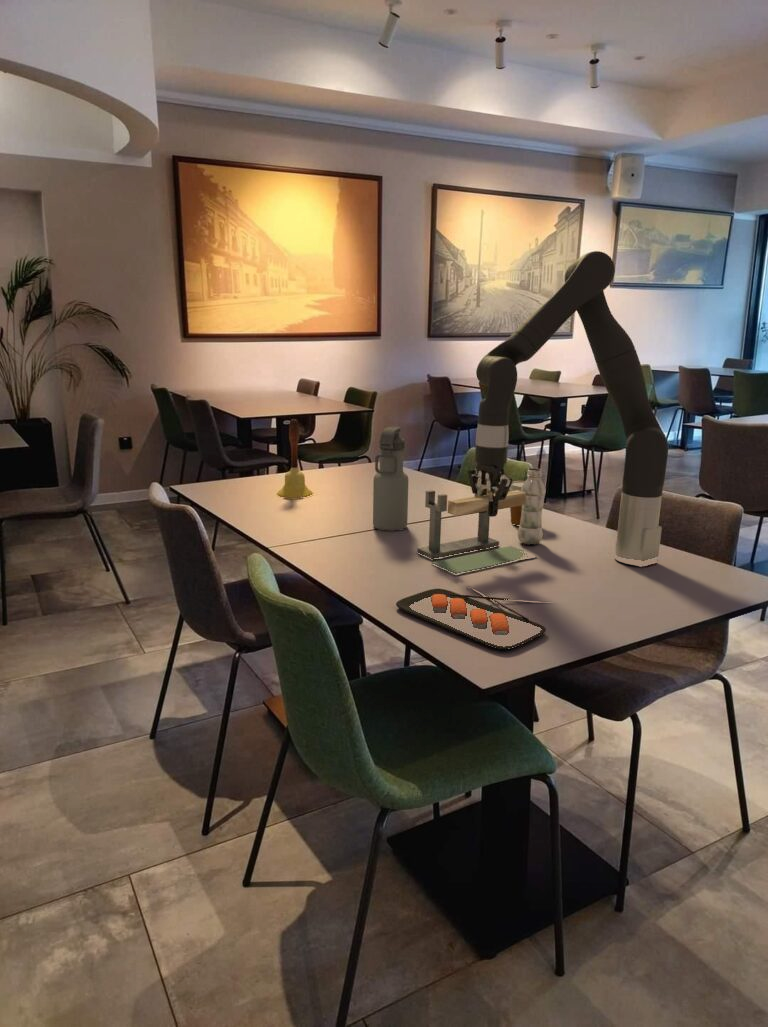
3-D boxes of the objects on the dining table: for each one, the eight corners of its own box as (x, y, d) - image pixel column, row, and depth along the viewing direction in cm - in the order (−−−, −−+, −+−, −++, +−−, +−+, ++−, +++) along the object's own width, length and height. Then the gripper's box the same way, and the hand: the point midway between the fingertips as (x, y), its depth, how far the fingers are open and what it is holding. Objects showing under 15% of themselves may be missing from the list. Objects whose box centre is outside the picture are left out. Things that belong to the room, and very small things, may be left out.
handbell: (279, 489, 247) (278, 416, 240) (315, 490, 246) (315, 417, 240) (273, 498, 235) (271, 421, 228) (310, 499, 234) (310, 422, 228)
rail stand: (499, 546, 187) (502, 486, 183) (431, 560, 175) (434, 496, 171) (483, 541, 192) (486, 482, 188) (417, 554, 180) (419, 491, 176)
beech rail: (525, 504, 177) (526, 492, 177) (455, 515, 166) (456, 503, 165) (516, 502, 180) (517, 490, 179) (447, 512, 168) (448, 500, 167)
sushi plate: (389, 611, 146) (389, 593, 145) (483, 578, 166) (484, 562, 165) (504, 661, 125) (505, 640, 124) (596, 616, 145) (597, 598, 144)
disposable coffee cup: (524, 530, 203) (527, 489, 200) (498, 523, 210) (501, 483, 207) (545, 525, 209) (548, 484, 205) (520, 518, 216) (522, 479, 213)
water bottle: (400, 533, 198) (403, 432, 190) (367, 529, 201) (368, 429, 193) (411, 524, 207) (414, 427, 200) (379, 520, 210) (381, 425, 203)
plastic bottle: (542, 541, 193) (548, 468, 188) (540, 548, 187) (546, 472, 182) (518, 539, 195) (523, 466, 189) (515, 546, 188) (520, 471, 183)
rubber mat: (536, 557, 179) (536, 555, 179) (455, 575, 165) (455, 573, 165) (511, 548, 186) (511, 545, 186) (431, 564, 172) (431, 562, 172)
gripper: (524, 446, 165) (519, 519, 169) (484, 437, 176) (479, 506, 181) (500, 449, 161) (495, 523, 165) (460, 440, 172) (456, 509, 177)
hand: (487, 514), depth 173 cm, fingers closed on beech rail, 3 cm apart
